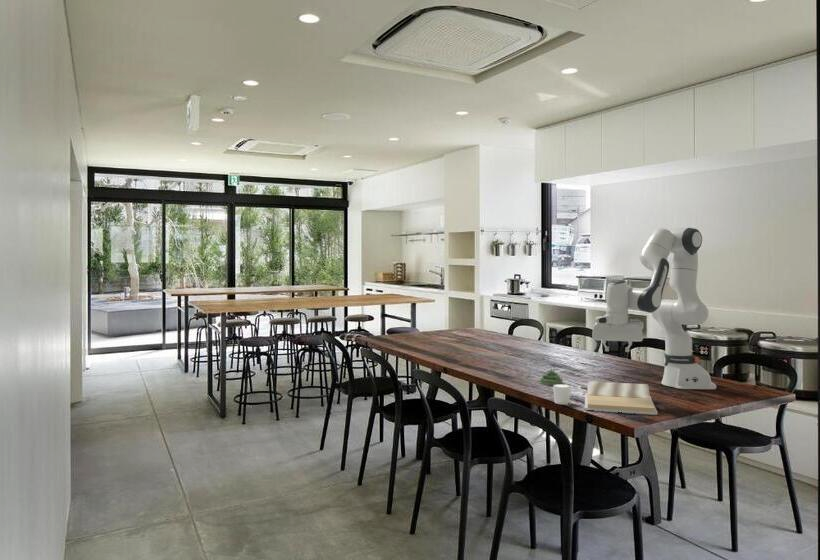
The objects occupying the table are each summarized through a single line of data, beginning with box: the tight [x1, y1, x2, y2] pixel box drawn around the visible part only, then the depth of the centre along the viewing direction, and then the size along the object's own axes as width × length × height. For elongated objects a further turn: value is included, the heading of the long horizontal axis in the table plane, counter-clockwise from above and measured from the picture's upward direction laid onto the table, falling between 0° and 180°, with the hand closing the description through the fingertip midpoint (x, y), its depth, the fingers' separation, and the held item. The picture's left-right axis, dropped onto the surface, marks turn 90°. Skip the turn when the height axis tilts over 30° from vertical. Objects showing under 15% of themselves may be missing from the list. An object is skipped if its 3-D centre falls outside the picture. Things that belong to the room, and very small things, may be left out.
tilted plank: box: [586, 381, 651, 399], centre depth 238 cm, size 24×9×2 cm, turn 73°
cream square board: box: [584, 392, 659, 416], centre depth 231 cm, size 26×26×2 cm
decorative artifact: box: [540, 368, 563, 387], centre depth 270 cm, size 10×7×10 cm
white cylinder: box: [552, 383, 571, 405], centre depth 235 cm, size 7×7×7 cm
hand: (617, 351), depth 243 cm, fingers open, 7 cm apart
